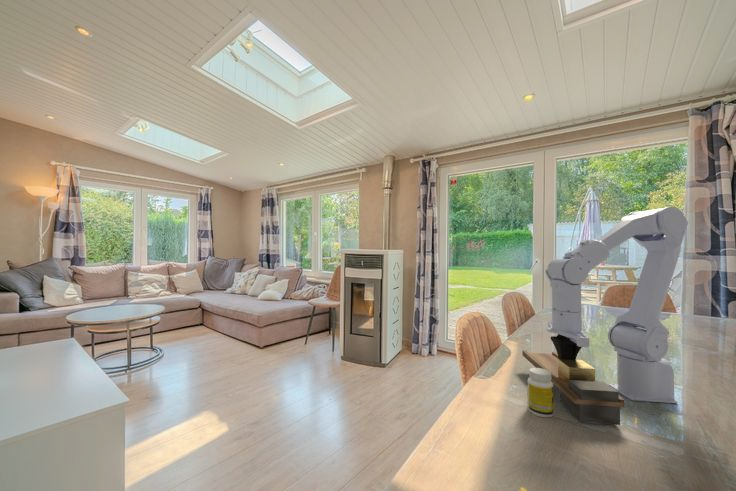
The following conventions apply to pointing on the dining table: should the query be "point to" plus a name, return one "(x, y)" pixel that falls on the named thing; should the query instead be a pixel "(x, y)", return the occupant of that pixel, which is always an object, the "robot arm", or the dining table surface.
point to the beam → (582, 393)
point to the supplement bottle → (540, 393)
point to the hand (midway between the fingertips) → (566, 369)
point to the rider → (575, 370)
